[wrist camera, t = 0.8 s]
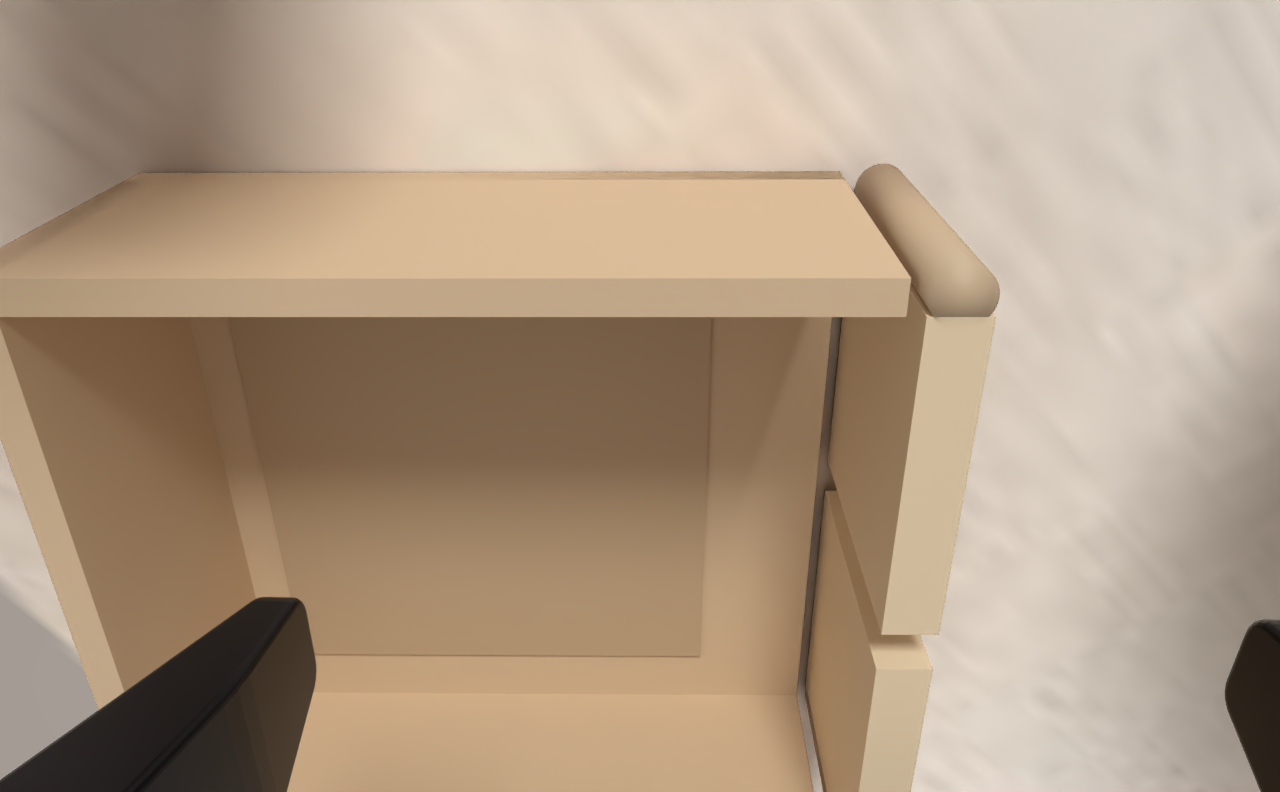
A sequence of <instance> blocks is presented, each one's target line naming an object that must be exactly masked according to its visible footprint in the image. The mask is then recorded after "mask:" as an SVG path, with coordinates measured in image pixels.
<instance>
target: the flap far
mask: <svg viewBox="0 0 1280 792" xmlns="http://www.w3.org/2000/svg"><path fill="white" fill-rule="evenodd" d="M932 670H933V669H932V666H931V664H930V661H929V658H928V655H927V653H926V650H925V647H924V644H923V641H922V639H921V636H920V635H881V632H880V629H879V625H878V622H877V619H876V616H875V612H874V609H873V606H872V603H871V599H870V596H869V593H868V590H867V586H866V583H865V580H864V577H863V573H862V570H861V567H860V564H859V560H858V557H857V554H856V551H855V547H854V544H853V541H852V538H851V534H850V531H849V528H848V525H847V521H846V518H845V515H844V512H843V508H842V505H841V502H840V499H839V495H838V492H837V491H825V497H824V507H823V517H822V527H821V537H820V547H819V557H818V567H817V578H816V588H815V598H814V608H813V618H812V628H811V638H810V648H809V658H808V668H807V678H806V687H807V688H806V691H805V697H806V702H807V708H808V713H809V718H810V724H811V729H812V734H813V740H814V745H815V750H816V755H817V761H818V766H819V771H820V777H821V782H822V787H823V792H911V787H912V782H913V776H914V770H915V765H916V759H917V754H918V748H919V743H920V737H921V731H922V726H923V720H924V715H925V709H926V703H927V698H928V692H929V687H930V681H931V676H932Z"/></svg>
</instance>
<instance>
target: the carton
mask: <svg viewBox="0 0 1280 792" xmlns="http://www.w3.org/2000/svg"><path fill="white" fill-rule="evenodd" d="M910 284H911V277H910V276H909V274H908V273H907V271H906V270H905V268H904V267H903V265H902V264H901V262H900V261H899V259H898V258H897V256H896V255H895V253H894V252H893V250H892V249H891V247H890V246H889V244H888V243H887V241H886V240H885V238H884V237H883V235H882V234H881V232H880V231H879V229H878V228H877V226H876V225H875V223H874V222H873V220H872V219H871V218H870V216H869V215H868V213H867V212H866V210H865V209H864V207H863V206H862V204H861V203H860V201H859V200H858V198H857V197H856V195H855V194H854V192H853V191H852V189H851V188H850V186H849V185H848V183H847V182H846V180H845V179H844V177H843V176H842V174H841V173H840V171H805V172H328V173H138V174H136V175H135V176H133V177H131V178H129V179H127V180H125V181H123V182H122V183H120V184H118V185H116V186H114V187H112V188H110V189H109V190H107V191H105V192H103V193H101V194H99V195H97V196H96V197H94V198H92V199H90V200H88V201H86V202H84V203H83V204H81V205H79V206H77V207H75V208H73V209H71V210H70V211H68V212H66V213H64V214H62V215H60V216H58V217H57V218H55V219H53V220H51V221H49V222H47V223H45V224H43V225H42V226H40V227H38V228H36V229H34V230H32V231H30V232H29V233H27V234H25V235H23V236H21V237H19V238H17V239H16V240H14V241H12V242H10V243H8V244H6V245H4V246H3V247H1V248H0V439H1V441H2V444H3V447H4V450H5V453H6V455H7V458H8V461H9V464H10V466H11V469H12V472H13V475H14V477H15V480H16V483H17V486H18V488H19V491H20V494H21V497H22V500H23V502H24V505H25V508H26V511H27V513H28V516H29V519H30V522H31V524H32V527H33V530H34V533H35V535H36V538H37V541H38V544H39V547H40V549H41V552H42V555H43V558H44V560H45V563H46V566H47V569H48V571H49V574H50V577H51V580H52V582H53V585H54V588H55V591H56V594H57V596H58V599H59V602H60V605H61V607H62V610H63V613H64V616H65V618H66V621H67V624H68V627H69V629H70V632H71V635H72V638H73V641H74V643H75V646H76V649H77V652H78V654H79V657H80V660H81V663H82V665H83V668H84V671H85V674H86V676H87V679H88V682H89V685H90V687H91V690H92V693H93V696H94V699H95V701H96V704H97V707H98V710H99V709H101V708H102V707H104V706H105V705H106V704H108V703H109V702H111V701H112V700H113V699H115V698H116V697H118V696H119V695H120V694H122V693H123V692H125V691H126V690H127V689H129V688H130V687H132V686H133V685H134V684H136V683H137V682H139V681H140V680H141V679H143V678H144V677H146V676H147V675H148V674H150V673H151V672H153V671H154V670H155V669H157V668H158V667H160V666H161V665H162V664H164V663H165V662H167V661H168V660H170V659H171V658H172V657H174V656H175V655H177V654H178V653H179V652H181V651H182V650H184V649H185V648H186V647H188V646H189V645H191V644H192V643H193V642H195V641H196V640H198V639H199V638H200V637H202V636H203V635H205V634H206V633H207V632H209V631H210V630H212V629H213V628H214V627H216V626H217V625H219V624H220V623H221V622H223V621H224V620H226V619H227V618H228V617H230V616H231V615H233V614H234V613H236V612H237V611H238V610H240V609H241V608H243V607H244V606H245V605H247V604H248V603H250V602H251V601H253V600H255V599H257V598H259V597H294V598H297V599H299V600H301V601H302V602H303V604H304V606H305V608H306V611H307V616H308V622H309V627H310V632H311V638H312V643H313V648H314V653H315V659H316V669H317V672H316V682H315V688H314V692H313V696H312V699H311V703H310V707H309V711H308V714H307V718H306V722H305V726H304V729H303V733H302V737H301V741H300V744H299V748H298V752H297V756H296V759H295V763H294V767H293V771H292V774H291V778H290V782H289V786H288V789H287V792H813V786H812V780H811V775H810V769H809V763H808V758H807V752H806V747H805V741H804V735H803V730H802V724H801V718H800V713H799V707H798V701H797V696H796V694H797V684H798V673H799V662H800V652H801V641H802V630H803V620H804V609H805V599H806V588H807V577H808V567H809V556H810V545H811V535H812V524H813V513H814V503H815V492H816V481H817V471H818V460H819V449H820V439H821V428H822V418H823V407H824V396H825V386H826V375H827V364H828V354H829V343H830V332H831V322H832V317H906V315H907V307H908V300H909V292H910Z"/></svg>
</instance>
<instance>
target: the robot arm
mask: <svg viewBox="0 0 1280 792" xmlns="http://www.w3.org/2000/svg"><path fill="white" fill-rule="evenodd" d="M316 672H317V669H316V659H315V653H314V648H313V643H312V638H311V632H310V627H309V622H308V616H307V611H306V608H305V606H304V604H303V602H302V601H301V600H299V599H297V598H294V597H259V598H257V599H255V600H253V601H251V602H250V603H248V604H247V605H245V606H244V607H243V608H241V609H240V610H238V611H237V612H236V613H234V614H233V615H231V616H230V617H228V618H227V619H226V620H224V621H223V622H221V623H220V624H219V625H217V626H216V627H214V628H213V629H212V630H210V631H209V632H207V633H206V634H205V635H203V636H202V637H200V638H199V639H198V640H196V641H195V642H193V643H192V644H191V645H189V646H188V647H186V648H185V649H184V650H182V651H181V652H179V653H178V654H177V655H175V656H174V657H172V658H171V659H170V660H168V661H167V662H165V663H164V664H162V665H161V666H160V667H158V668H157V669H155V670H154V671H153V672H151V673H150V674H148V675H147V676H146V677H144V678H143V679H141V680H140V681H139V682H137V683H136V684H134V685H133V686H132V687H130V688H129V689H127V690H126V691H125V692H123V693H122V694H120V695H119V696H118V697H116V698H115V699H113V700H112V701H111V702H109V703H108V704H106V705H105V706H104V707H102V708H101V709H99V710H98V711H96V712H95V713H94V714H92V715H91V716H90V717H88V718H87V719H85V720H84V721H82V722H81V723H80V724H78V725H77V726H75V727H74V728H73V729H71V730H70V731H68V732H67V733H66V734H64V735H63V736H61V737H60V738H59V739H57V740H56V741H54V742H53V743H52V744H50V745H49V746H47V747H46V748H45V749H43V750H42V751H40V752H39V753H38V754H36V755H35V756H33V757H32V758H30V759H29V760H28V761H26V762H25V763H23V764H22V765H21V766H19V767H18V768H17V769H15V770H14V771H12V772H11V773H9V774H8V775H7V776H5V777H4V778H2V779H1V780H0V792H287V789H288V786H289V782H290V778H291V774H292V771H293V767H294V763H295V759H296V756H297V752H298V748H299V744H300V741H301V737H302V733H303V729H304V726H305V722H306V718H307V714H308V711H309V707H310V703H311V699H312V696H313V692H314V688H315V682H316ZM1225 700H1226V705H1227V709H1228V712H1229V715H1230V717H1231V720H1232V722H1233V725H1234V727H1235V730H1236V732H1237V735H1238V737H1239V739H1240V742H1241V744H1242V747H1243V749H1244V752H1245V754H1246V757H1247V759H1248V762H1249V764H1250V766H1251V769H1252V771H1253V774H1254V776H1255V779H1256V781H1257V784H1258V786H1259V789H1260V791H1261V792H1280V620H1259V621H1256V622H1254V623H1253V624H1252V625H1251V626H1250V627H1249V628H1248V630H1247V632H1246V634H1245V636H1244V639H1243V641H1242V644H1241V646H1240V649H1239V651H1238V654H1237V656H1236V659H1235V662H1234V664H1233V667H1232V669H1231V672H1230V674H1229V677H1228V679H1227V682H1226V688H1225Z"/></svg>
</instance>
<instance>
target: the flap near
mask: <svg viewBox="0 0 1280 792" xmlns="http://www.w3.org/2000/svg"><path fill="white" fill-rule="evenodd" d="M855 195H856V197H857V198H858V200H859V201H860V203H861V204H862V206H863V207H864V209H865V210H866V212H867V213H868V215H869V216H870V218H871V219H872V220H873V222H874V223H875V225H876V226H877V228H878V229H879V231H880V232H881V234H882V235H883V237H884V238H885V240H886V241H887V243H888V244H889V246H890V247H891V249H892V250H893V252H894V253H895V255H896V256H897V258H898V259H899V261H900V262H901V264H902V265H903V267H904V268H905V270H906V271H907V273H908V274H909V276H910V277H911V284H910V292H909V300H908V307H907V315H906V317H842V326H841V336H840V346H839V356H838V366H837V376H836V386H835V396H834V406H833V417H832V427H831V437H830V447H829V457H828V463H829V466H830V469H831V472H832V476H833V479H834V482H835V485H836V489H837V492H838V495H839V499H840V502H841V505H842V508H843V512H844V515H845V518H846V521H847V525H848V528H849V531H850V534H851V538H852V541H853V544H854V547H855V551H856V554H857V557H858V560H859V564H860V567H861V570H862V573H863V577H864V580H865V583H866V586H867V590H868V593H869V596H870V599H871V603H872V606H873V609H874V612H875V616H876V619H877V622H878V625H879V629H880V632H881V635H939V631H940V625H941V620H942V614H943V609H944V603H945V597H946V592H947V586H948V581H949V575H950V570H951V564H952V558H953V553H954V547H955V542H956V536H957V530H958V525H959V519H960V514H961V508H962V503H963V497H964V491H965V486H966V480H967V475H968V469H969V464H970V458H971V452H972V447H973V441H974V436H975V430H976V424H977V419H978V413H979V408H980V402H981V397H982V391H983V385H984V380H985V374H986V369H987V363H988V357H989V352H990V346H991V341H992V335H993V330H994V324H995V318H996V317H995V316H994V314H993V311H994V310H995V308H996V306H997V304H998V301H999V295H1000V289H999V285H998V282H997V280H996V278H995V277H994V275H993V274H992V273H991V272H990V271H989V270H988V269H987V267H986V266H985V265H984V264H983V263H982V262H981V261H980V260H979V258H978V257H977V256H976V255H975V254H974V253H973V252H972V251H971V250H970V248H969V247H968V246H967V245H966V244H965V243H964V242H963V241H962V239H961V238H960V237H959V236H958V235H957V234H956V233H955V232H954V230H953V229H952V228H951V227H950V226H949V225H948V224H947V223H946V222H945V220H944V219H943V218H942V217H941V216H940V215H939V214H938V213H937V211H936V210H935V209H934V208H933V207H932V206H931V205H930V204H929V202H928V201H927V200H926V199H925V198H924V197H923V196H922V195H921V194H920V192H919V191H918V190H917V189H916V188H915V187H914V186H913V185H912V183H911V182H910V181H909V180H908V179H907V178H906V177H905V176H904V175H903V173H902V172H901V171H900V170H899V169H898V168H896V167H894V166H892V165H889V164H877V165H874V166H872V167H870V168H868V169H867V170H865V171H864V172H863V173H862V174H861V176H860V177H859V179H858V181H857V183H856V187H855Z"/></svg>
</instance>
